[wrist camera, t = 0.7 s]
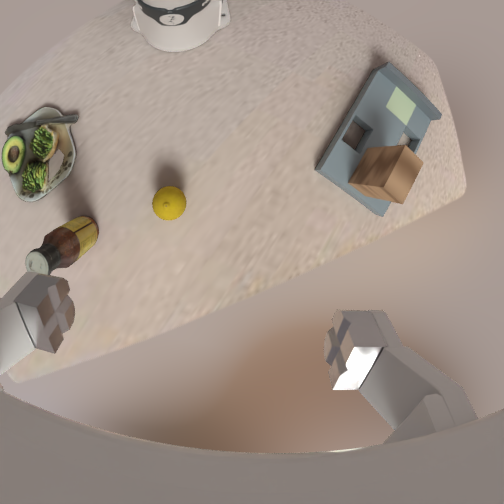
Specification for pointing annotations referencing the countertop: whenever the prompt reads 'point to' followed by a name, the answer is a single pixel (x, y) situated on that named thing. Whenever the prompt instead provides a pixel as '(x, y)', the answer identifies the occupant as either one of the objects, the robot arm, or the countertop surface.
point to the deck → (378, 127)
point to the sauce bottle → (63, 246)
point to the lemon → (169, 203)
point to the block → (386, 173)
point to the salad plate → (38, 152)
